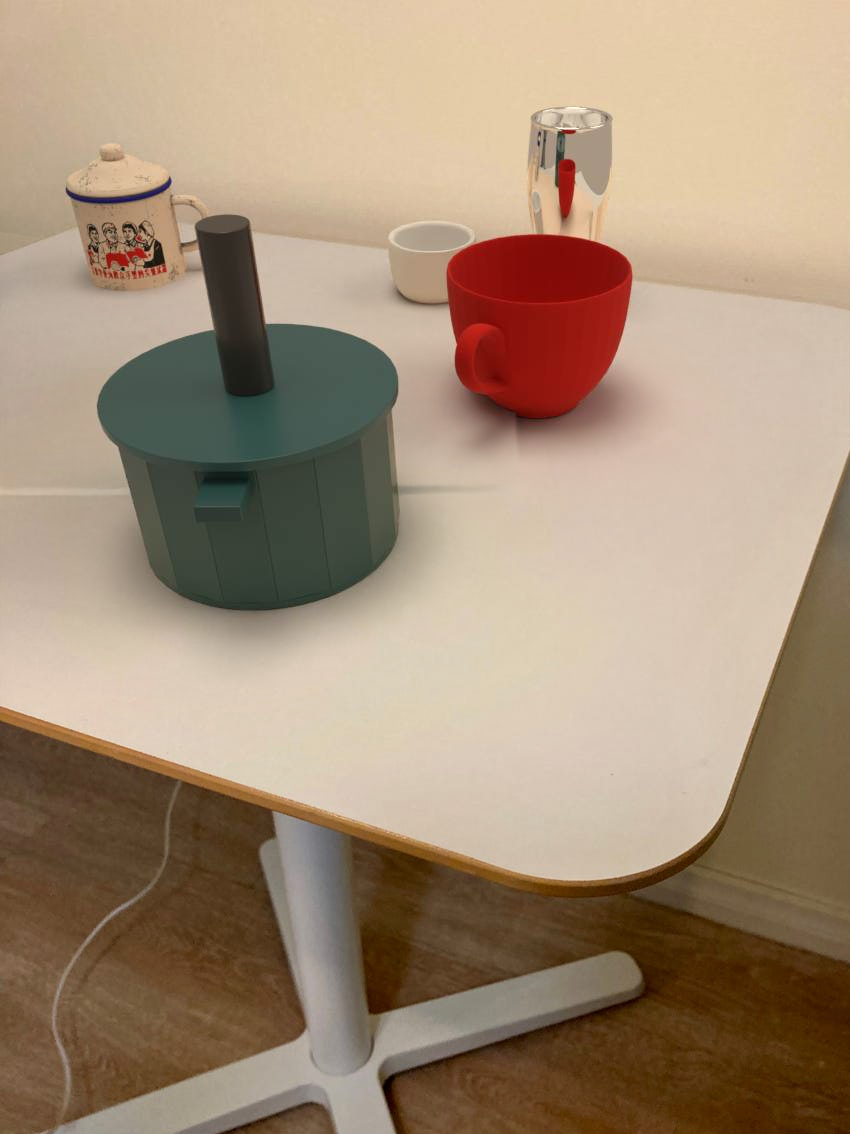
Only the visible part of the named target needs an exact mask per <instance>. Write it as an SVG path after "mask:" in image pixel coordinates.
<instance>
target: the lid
mask: <svg viewBox="0 0 850 1134" xmlns="http://www.w3.org/2000/svg"><path fill="white" fill-rule="evenodd" d="M194 232H195V237H196V239H197V243H198V248H199V249H198V253H199V259H200V263H201V269H202V276H203V280H204V285H205V291H206V296H207V302H208V307H209V311H210V316H211V321H212V322H211V323H212V328H213V329H209V330H205V331H201V332H197V333H193V334H189V335H185V336H183V337H179V338H176V339H173V340H170V341H167V342H165V343H161V344H160V345H158V346H155V347H153V348H151V349H148V350H147V351H144V352H143V353H141V354H139V355H137V356H136V357H134V358H132V359H131V360H129V361H128V362H126V363H125V364H123V365H122V366H120V367H119V368H118V369H117V370H116V371H115V372H114V373H113V374H112V375H110V376H109V378H108V379H107V381H106V382H105V383H104V385H103V386H102V387H101V390H100V392H99V394H98V397H97V402H96V412H97V417H98V421H99V424H100V426H101V430H102V432H103V433H104V434H105V435H106V437H107V438H108V440H109V441H110V442H112V444H114V445H115V446H116V447H117V448H118V447H119V448H120V449H122V450H124V451H125V452H127V453H129V454H130V455H132V456H135V457H137V458H140V459H142V460H144V461H147V462H151V463H154V464H157V465H161V466H165V467H171V468H176V469H182V470H191V471H201V472H239V471H251V470H261V469H268V468H274V467H280V466H286V465H290V464H294V463H298V462H302V461H306V460H310V459H313V458H316V457H319V456H322V455H325V454H328V453H330V452H333V451H335V450H337V449H340V448H342V447H345V446H346V445H348V444H350V443H352V442H354V441H356V440H358V439H360V438H361V437H363V436H364V435H366V434H367V433H369V432H370V431H372V430H373V429H374V428H375V427H376V426H378V425H379V424H380V423H381V422H382V421H383V420H384V419H385V418H386V417H387V415H388V414H389V413H390V412H391V410H392V411H393V408H394V407H395V405H396V403H397V399H398V396H399V384H400V383H399V375H398V371H397V368H396V365H395V364H394V362H393V361H392V359H391V358H390V357H389V356H388V355H387V354H386V352H385V351H383V350H382V349H380V347H378V346H376V345H375V344H373V343H371V342H369V341H368V340H365V339H364V338H361V337H358V336H357V335H354V334H351V333H348V332H344V331H341V330H337V329H333V328H328V327H324V326H323V327H322V326H317V325H316V326H315V325H309V324H296V323H267V322H266V317H265V310H264V303H263V298H262V291H261V284H260V278H259V272H258V271H259V270H258V265H257V258H256V251H255V246H254V239H253V232H252V225H251V221H250V219H249V218H248V217H246V216H243V215H239V214H231V213H229V214H227V213H226V214H225V213H224V214H215V215H210V217H207V218H204V219H202V218H201V219H199V220H197V222H196V223H195V224H194Z"/></svg>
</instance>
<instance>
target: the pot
mask: <svg viewBox="0 0 850 1134" xmlns="http://www.w3.org/2000/svg"><path fill="white" fill-rule="evenodd" d="M393 421H394V420H393V409H392V410H391V412H390V413H389V414H388V415H387V417H386V418H385V419H384V420H383V421H382V422H381V423H380V424H379V425H378V426H376V427H375V428H374V429H373V430H372V431H370V432H369V433H367V434H366V435H364V436H363V437H361V438H360V439H358V440H356V441H354V442H352V443H350V444H348V445H346V446H345V447H342V448H340V449H337V450H335V451H333V452H330V453H328V454H325V455H322V456H319V457H316V458H313V459H310V460H306V461H302V462H298V463H294V464H290V465H286V466H280V467H274V468H268V469H261V470H251V471H239V472H201V471H191V470H182V469H176V468H171V467H165V466H161V465H157V464H154V463H151V462H147V461H144V460H142V459H140V458H137V457H135V456H132V455H130V454H129V453H127V452H125V451H124V450H122V449H120V448H119V447H118V446H117V449H118V453H119V456H120V459H121V463H122V467H123V470H124V475H125V478H126V481H127V487H128V489H129V493H130V497H131V501H132V504H133V508H134V511H135V514H136V518H137V522H138V525H139V529H140V533H141V536H142V541H143V544H144V548H145V552H146V555H147V559H148V563H149V566H150V569H152V571H153V572H154V574H155V575H156V577H157V578H158V579H159V580H160V581H161V582H162V583H163V584H164V585H165V586H166V587H167V588H169V589H170V590H172V591H174V592H175V593H177V594H178V595H181V596H182V597H185V598H187V599H188V600H191V601H195V602H196V603H197V602H198V603H200V604H204V605H207V606H212V607H217V608H222V609H231V610H242V611H243V610H246V611H249V610H250V611H258V610H276V609H283V608H290V607H295V606H299V605H304V604H308V603H311V602H316V601H319V600H322V599H325V598H327V597H330V596H333V595H336V594H338V593H340V592H342V591H344V590H346V589H348V588H351V587H353V586H354V585H356V584H357V583H359V582H361V581H362V580H364V579H365V578H367V577H368V576H369V575H370V574H372V573H373V572H374V571H375V570H377V569H378V568H379V566H380V565H381V564H382V563H384V562H385V560H386V559H387V557H388V556H389V555H390V553H391V552H392V550H393V549H394V546H395V544H396V542H397V538H398V534H399V519H400V502H399V487H398V486H399V485H398V474H397V462H396V449H395V448H396V447H395V435H394V422H393Z"/></svg>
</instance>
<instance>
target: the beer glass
mask: <svg viewBox="0 0 850 1134" xmlns="http://www.w3.org/2000/svg"><path fill="white" fill-rule="evenodd" d="M529 118H530V119H529V121H530V123H529V124H530V125H529V135H528V144H527V145H528V146H527V159H526V192H527V202H528V203H527V204H528V212H529V217H530V224H531V225H530V226H531V231H532V234H550V235H564V236H571V237H578V238H583V239H587V240H591V241H595V242H598V243H600V238H601V236H602V235H601V234H602V230H603V226H604V222H605V218H606V213H607V208H608V203H609V198H610V192H611V185H612V173H613V120H614V119H613V116H612V115H611V113H609V112H607V111H604V110H601V109H598V108H593V107H585V106H557V107H550V108H545V109H544V108H543V109H541V110H538V111H535V112H534V113H532V114H531V116H530V117H529Z"/></svg>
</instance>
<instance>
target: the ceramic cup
mask: <svg viewBox="0 0 850 1134" xmlns="http://www.w3.org/2000/svg"><path fill="white" fill-rule="evenodd" d="M446 279H447V292H448V301H449V302H448V308H449V315H450V316H449V317H450V321H451V327H452V332H453V337H454V340H455V343H456V346H455V351H454V368H455V372H456V376H457V377H458V379H459V381H460V383H461V384H462V385H463V386H464V387H465V388H466V389H467V390H469V391H471V392H474V393H477V394H483V395H486V396H487V397H488V398H489V399H491V400H492V401H493V402H494V403H495V404H497V405H498V406H499V407H502V408H504V409H505V410H509V411H512V412H515V416H516V417H521V418H528V419H546V418H552V417H557V416H561V415H564V414H566V413H569V412H571V411H572V410H574V409H575V408H576V407H577V406H578V405H579V403H580V402H581V401H582V400H584V399H585V398H586V397H587V396H588V395H589V394H590V393H591V392H592V391H593V390H594V389H595V388H596V387H597V385H598V384H599V383H600V382H601V381H602V380H603V378H604V376H605V375H606V374H607V372H608V371H609V369H610V367H611V365H613V362H614V359H615V357H616V355H617V352H618V349H619V346H620V345H621V340H622V338H623V334H624V330H625V328H626V327H625V326H626V323H627V319H628V318H627V317H628V313H629V308H630V307H629V306H630V300H631V295H632V286H633V269H632V264H631V262H630V261H629V259H628V258H627V256H625V255H624V254H623V253H622V252H620V251H619V250H617V249H615V248H613V247H611V246H610V245H606V244H604V243H601V242H599V243H598V242H595V241H591V240H587V239H583V238H578V237H571V236H564V235H550V234H533V233H527V234H514V235H508V236H507V235H506V236H500V237H495V238H491V239H487V240H483V241H480V242H477V244H474V245H471V246H469V247H467V248H465V249H463V250H461V251H459V252H458V253H457V254H456V255H454V256H453V257H452V259H451V260H450V261H449V263H448V266H447V271H446Z"/></svg>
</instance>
